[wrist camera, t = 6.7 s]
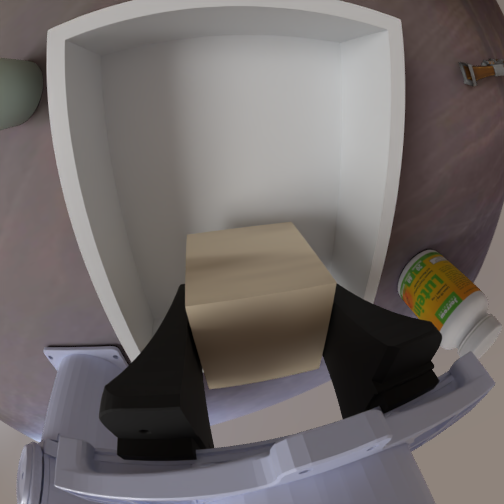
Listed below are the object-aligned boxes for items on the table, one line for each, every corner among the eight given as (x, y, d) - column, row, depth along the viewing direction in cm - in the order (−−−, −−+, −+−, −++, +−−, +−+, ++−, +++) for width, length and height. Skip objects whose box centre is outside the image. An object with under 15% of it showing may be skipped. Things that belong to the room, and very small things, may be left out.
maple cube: (288, 300, 16) (318, 368, 11) (202, 314, 15) (209, 389, 11) (291, 221, 13) (336, 282, 9) (186, 234, 12) (184, 306, 8)
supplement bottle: (410, 246, 19) (491, 323, 11) (445, 248, 21) (515, 312, 12) (387, 299, 22) (448, 380, 14) (423, 295, 23) (480, 362, 15)
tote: (331, 292, 20) (361, 339, 16) (147, 320, 18) (140, 377, 14) (345, 35, 11) (400, 19, 7) (91, 49, 9) (47, 30, 5)
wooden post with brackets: (507, 70, 11) (535, 80, 8) (449, 78, 15) (475, 87, 11) (502, 53, 10) (530, 60, 7) (443, 59, 14) (469, 64, 10)
